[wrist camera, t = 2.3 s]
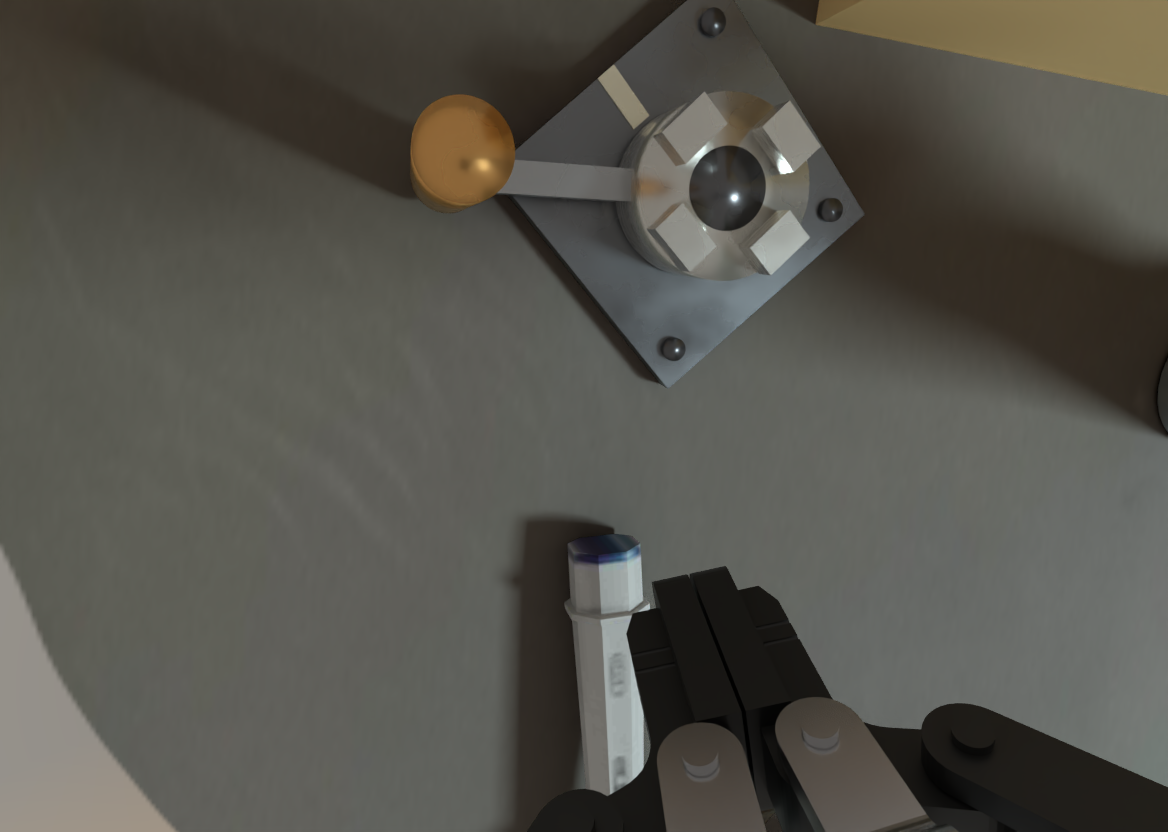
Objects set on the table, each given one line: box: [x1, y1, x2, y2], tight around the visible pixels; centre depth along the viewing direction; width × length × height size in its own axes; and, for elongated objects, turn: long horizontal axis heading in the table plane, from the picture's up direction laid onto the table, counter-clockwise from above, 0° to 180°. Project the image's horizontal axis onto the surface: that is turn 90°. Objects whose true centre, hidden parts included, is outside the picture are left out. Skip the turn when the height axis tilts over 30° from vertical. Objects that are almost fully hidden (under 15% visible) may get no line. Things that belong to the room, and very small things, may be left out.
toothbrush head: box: [564, 534, 650, 796], centre depth 42 cm, size 5×7×25 cm
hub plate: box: [508, 0, 865, 388], centre depth 36 cm, size 14×14×2 cm
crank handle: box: [410, 91, 821, 281], centre depth 29 cm, size 18×8×11 cm, turn 87°
